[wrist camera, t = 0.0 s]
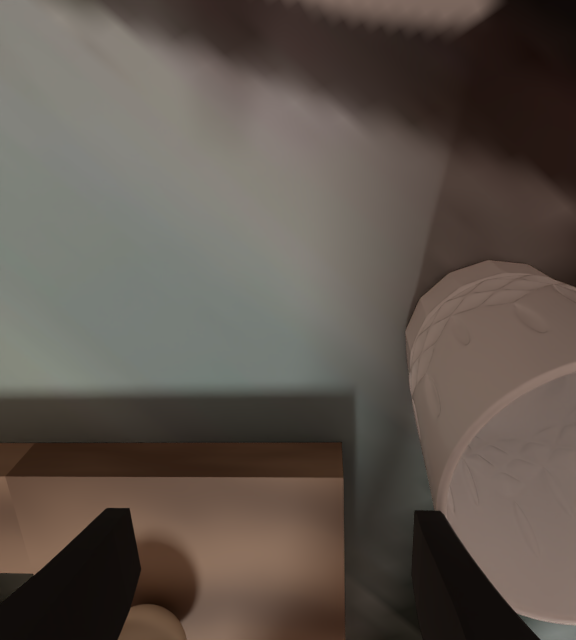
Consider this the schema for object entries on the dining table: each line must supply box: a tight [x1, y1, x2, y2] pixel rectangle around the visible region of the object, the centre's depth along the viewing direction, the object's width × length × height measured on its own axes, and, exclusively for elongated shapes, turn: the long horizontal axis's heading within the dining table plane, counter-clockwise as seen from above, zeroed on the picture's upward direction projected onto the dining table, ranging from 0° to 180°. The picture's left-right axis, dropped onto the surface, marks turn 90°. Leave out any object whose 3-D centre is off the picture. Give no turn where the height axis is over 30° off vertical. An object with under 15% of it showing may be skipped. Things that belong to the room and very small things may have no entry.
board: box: [0, 442, 345, 640], centre depth 26 cm, size 16×22×2 cm
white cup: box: [405, 260, 576, 625], centre depth 17 cm, size 8×8×10 cm
